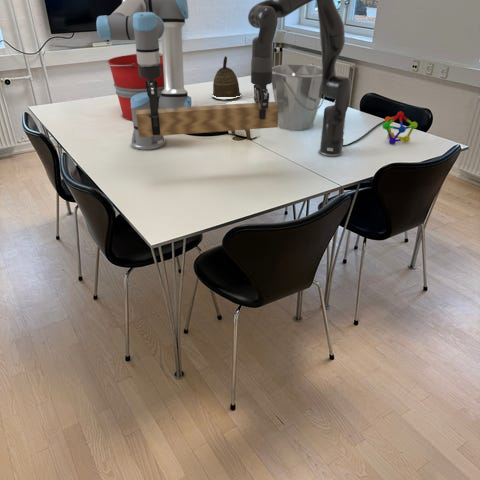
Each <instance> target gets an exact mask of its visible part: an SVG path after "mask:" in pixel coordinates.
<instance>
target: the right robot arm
mask: <svg viewBox="0 0 480 480" xmlns="http://www.w3.org/2000/svg"><path fill="white" fill-rule="evenodd" d="M313 1H314V0H264V1H261V2H259V3H256V4H255V5H253V6H252V8H250V10H249V12H248V16H247V20H248V24H249V25H250V26H251V27H252V28H255V29H259V31H258V35H257V36H256V37H253V39H252V42H251V60H250V61H251V62H250V82H251V84H252V85H253V102H254V103H259V108H260V116H259V118H260V119H266V109H268V103H269V102H270V93H269V90H268V87H267V86H268V85H272V67H273V42H274V39H275V36H276V31H277V28H278V22H279V19H282V18H285V17H287V16H289V15H291V14H292V13H293V12H295V11H297V10H298V9H300V8H302V7H304V6H306V5H307V4H309V3H311V2H313ZM315 1H316V6H317V16H318V24H319V25H318V26H319V40H320V48H321V65H322V66H321V67H322V90H323V94H322V95H323V96H324V95H325V96H324V97H326V98H328V99H333V100H335V102H334V104H333V105H329V106H326V107H325V108H324V109H323V117H322V129H321V136H320V147H319V154H320V155H321V156H324V157H329V158H330V157H331V158H334V157H339V156H341V154H342V150H343V147H344V148H345V147H348V146H351V145H353V144H355V143H357V142H359V141H360V140H362V139H363V138H364V137H366V136H367V135H368V134H370V133H371V132H373V130H375V129H376V128H377V127H379V126H380V125H383V124H384V123H386V122H385V120H383V121H381V122H379V123H378V124H376V125H375V126H373V127H372V128H371V129H370V130H368V131H367V132H366V133H365V134H363V135H362V136H361V137H359V138H358V139H356V140H353V141H351V142H349V143H347V144H344V134H345V132H344V131H345V130H344V129H345V123H346V116H347V115H346V114H347V112H348V109H349V103H350V98H351V92H352V80H351V79H350V78H349V77H347V76H342V75H338V74H336V63H337V60H338V58H339V57H340V55H341V53H342V51H343V49H344V47H345V42H346V38H345V25H344V21H343V19H342V16H341V14H340V12H339V10H338V8H337V6H336V4H335V0H315ZM263 103H264V104H265V105H263Z"/></svg>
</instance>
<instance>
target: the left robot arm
mask: <svg viewBox="0 0 480 480" xmlns="http://www.w3.org/2000/svg"><path fill="white" fill-rule="evenodd" d="M121 1H122V2H121V4H120V5H119V6H118V7H117V8H116V9H115V10H114V11H113V12H112V13H111V14H110V15H106V14H105V15H99V16H97V17H96V32H97V35H98V37H99V38H100V40H104V41H134V42H135V50H136V51H135V54H137V63H138V64H140V65H139V66H138V70H139V76H140V77H141V78H147V82H145V85H146V89H147V92H144V93H139V94H136V95H134V96H133V97H132V98H131V111H132V118H133V120H132V125H133V132H132V135H131V142H130V143H131V147H132V148H134V149H135V150H141V151H151V150H153V151H154V150H157V149H161V148H163V147H164V146H165V144H166V140H165V137H164V136H150V137H139V132H138V124H137V116H136V110H147V109H151V116H149V118H151V123H152V132H153V135H160V124H159V114H158V109H163V108H179V107H192V96H190V95H189V94H188V90H186V89H185V82H184V81H185V79H184V78H185V77H184V57H183V55H184V54H183V53H184V52H183V28H184V26H185V25H186V20H188V19H189V6H188V0H121ZM159 39H161V52H162V53H161V52H160V44H159V43H160V41H159ZM162 55H163V73H164V89H163V91H162V92H161V96H158V93H157V88H158V86H157V81H154V79H155V78H158V77H160V76H161V75H162V74H161V65H160V64H159V63H160V57H159V56H162Z"/></svg>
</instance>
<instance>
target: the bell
mask: <svg viewBox="0 0 480 480" xmlns="http://www.w3.org/2000/svg"><path fill="white" fill-rule="evenodd" d="M227 63H228V57H227V56H224V58H223V63H222V67H221V68H219V69H218V70H217V71H216V73H215V75H214V78H213V81H212V83H213V84H212V95H214V96H216V97H236V96H240V95H241V96H242V93H241V92H240V83H239V80H238V79H239V78H238V77H237V75H236V73H235V72H234V70H232V69H231V68H230V67H227Z"/></svg>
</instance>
